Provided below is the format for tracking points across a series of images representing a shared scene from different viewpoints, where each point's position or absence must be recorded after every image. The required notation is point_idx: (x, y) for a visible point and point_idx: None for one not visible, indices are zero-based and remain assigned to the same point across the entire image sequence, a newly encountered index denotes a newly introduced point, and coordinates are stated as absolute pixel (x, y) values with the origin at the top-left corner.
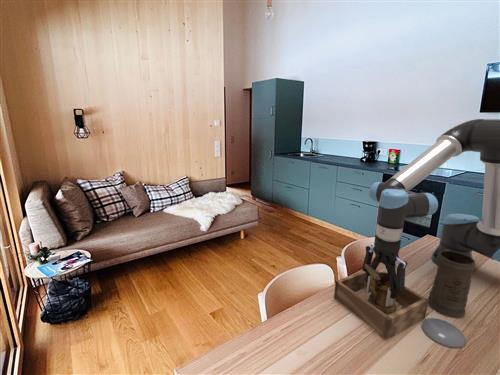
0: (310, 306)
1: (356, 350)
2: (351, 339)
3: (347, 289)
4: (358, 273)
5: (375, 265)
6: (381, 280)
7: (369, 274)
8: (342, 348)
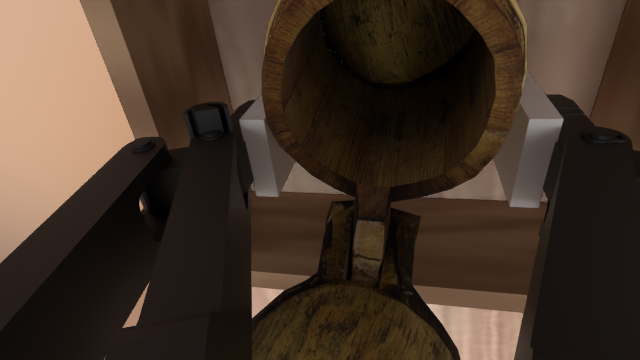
0: (260, 302)
1: (517, 332)
2: (471, 311)
3: (285, 287)
4: (120, 82)
5: (246, 320)
6: (395, 195)
7: (250, 202)
8: (479, 352)
